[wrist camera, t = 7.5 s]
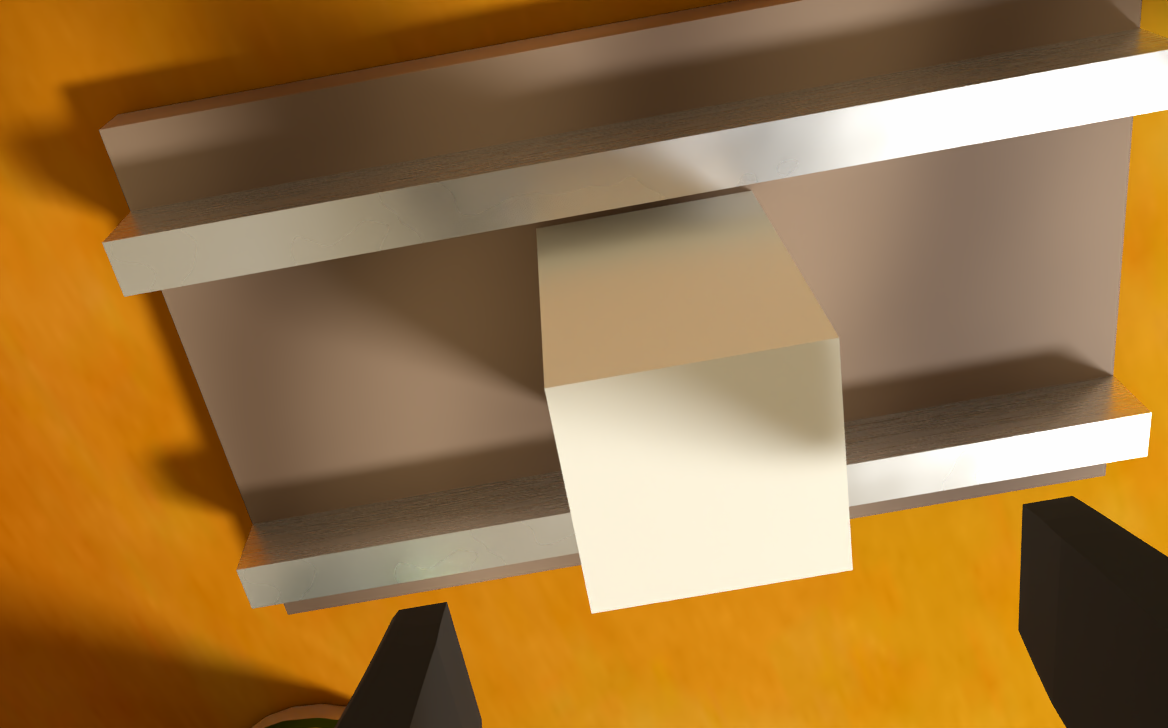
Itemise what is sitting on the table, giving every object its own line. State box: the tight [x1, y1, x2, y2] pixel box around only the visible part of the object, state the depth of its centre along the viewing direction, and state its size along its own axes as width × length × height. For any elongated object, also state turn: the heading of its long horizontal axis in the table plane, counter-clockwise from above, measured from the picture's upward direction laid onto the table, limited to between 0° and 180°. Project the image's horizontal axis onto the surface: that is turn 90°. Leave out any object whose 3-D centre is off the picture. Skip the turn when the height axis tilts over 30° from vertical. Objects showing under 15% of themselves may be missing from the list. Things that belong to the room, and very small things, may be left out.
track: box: [99, 0, 1168, 615], centre depth 21 cm, size 18×11×2 cm, turn 99°
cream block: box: [536, 191, 853, 613], centre depth 18 cm, size 4×4×6 cm
